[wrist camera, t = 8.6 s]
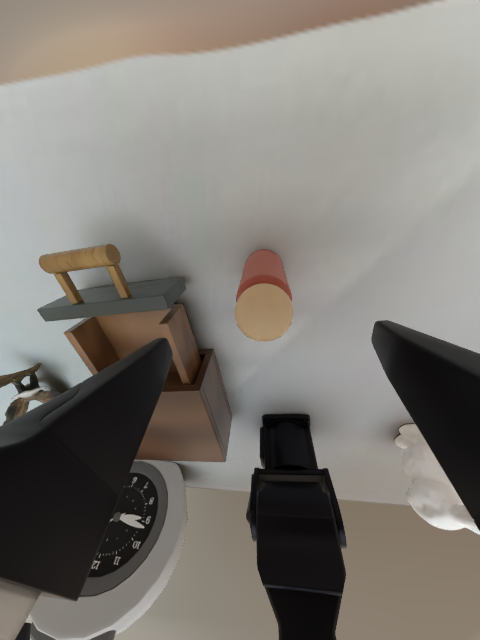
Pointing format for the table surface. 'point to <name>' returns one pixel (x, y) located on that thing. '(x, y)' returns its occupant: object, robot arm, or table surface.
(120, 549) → the alarm clock
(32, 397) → the eagle figurine
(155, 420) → the cabinet
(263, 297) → the peg doll
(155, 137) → the table surface
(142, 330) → the drawer
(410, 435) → the rabbit
